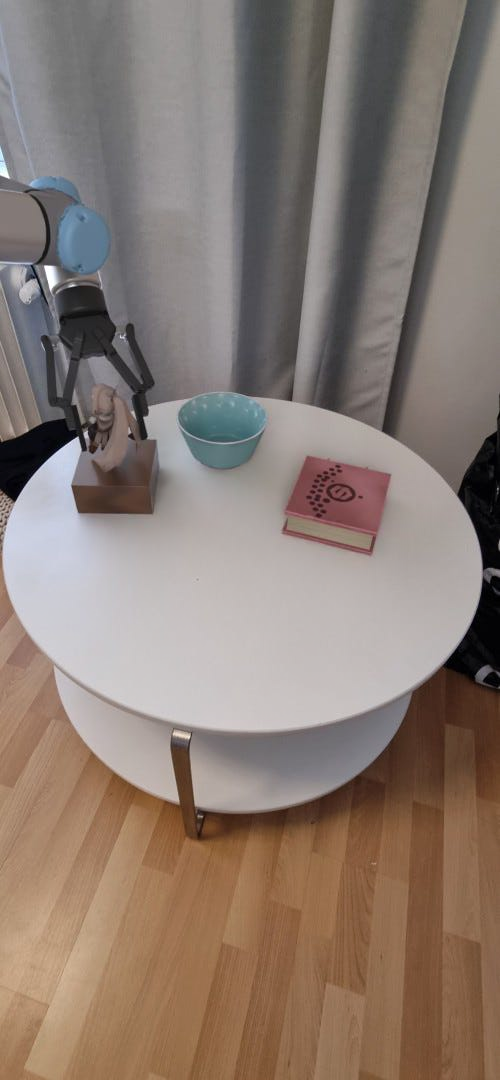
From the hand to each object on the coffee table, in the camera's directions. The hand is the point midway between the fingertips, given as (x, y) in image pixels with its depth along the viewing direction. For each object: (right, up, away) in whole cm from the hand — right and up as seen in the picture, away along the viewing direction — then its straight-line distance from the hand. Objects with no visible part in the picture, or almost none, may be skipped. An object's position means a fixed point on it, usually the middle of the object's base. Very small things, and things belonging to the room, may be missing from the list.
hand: (115, 444), depth 88 cm
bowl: (+15, +1, +18) cm, 24 cm away
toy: (-1, -1, +6) cm, 6 cm away
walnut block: (-2, -6, +11) cm, 12 cm away
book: (+34, -10, +9) cm, 37 cm away
